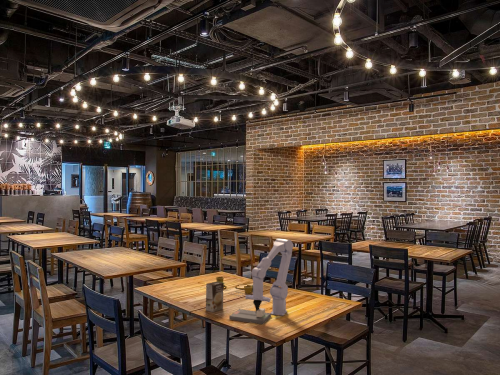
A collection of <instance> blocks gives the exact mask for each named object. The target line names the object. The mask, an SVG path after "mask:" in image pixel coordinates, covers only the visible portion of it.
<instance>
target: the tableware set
mask: <svg viewBox="0 0 500 375" xmlns="http://www.w3.org/2000/svg"><path fill="white" fill-rule="evenodd" d="M224 278H225V277H224V276H216V277H215V279H216V282H222V283H224V287H225V288H224V287H223V291H224V292H226V291H228V290H227V289H226V288H227V285H225V282H224ZM239 285H247V286H244V288H238V290H244V292H240V291H237V290H236V291H235V290H234V292H236V293H237V292H238V294H234V293H233V294H232V295H233V296H237V297H239V296H240V297H242V296H243V297H244V296H246V295H251V294H253V284H252V285H250V284H246V283H244V284H242V283H241V284H240V283H239V284H237V285H235V286H234V287H235V288H236V289H237V286H239ZM230 293H231V292H229V293H227V295H231V294H230ZM250 293H251V294H250ZM239 294H242V295H239Z"/></svg>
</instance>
